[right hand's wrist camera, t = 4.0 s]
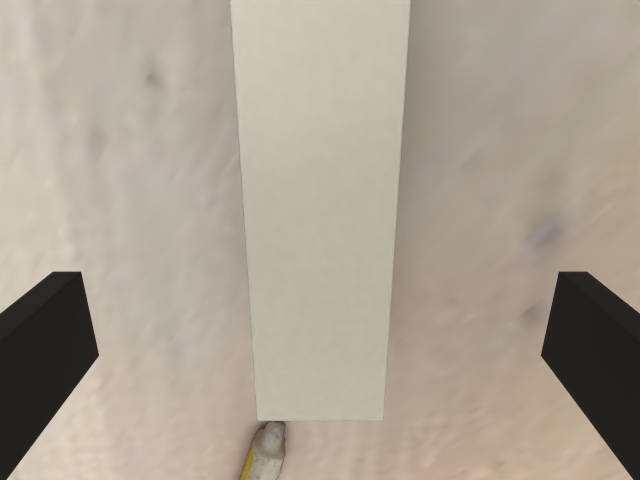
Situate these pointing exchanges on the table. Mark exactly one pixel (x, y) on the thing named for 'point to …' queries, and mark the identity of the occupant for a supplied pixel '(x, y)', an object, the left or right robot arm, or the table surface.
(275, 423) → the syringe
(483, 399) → the table surface
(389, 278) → the post
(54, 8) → the table surface
